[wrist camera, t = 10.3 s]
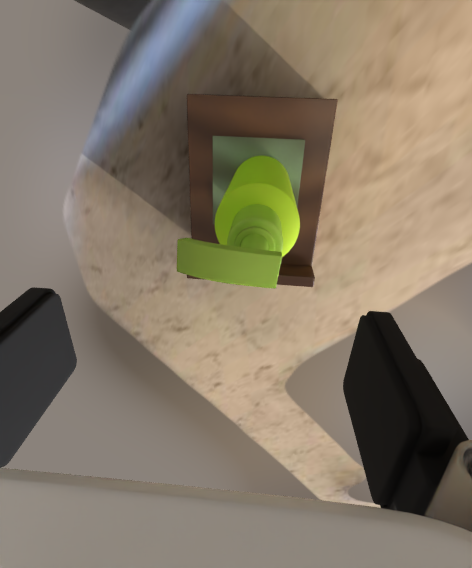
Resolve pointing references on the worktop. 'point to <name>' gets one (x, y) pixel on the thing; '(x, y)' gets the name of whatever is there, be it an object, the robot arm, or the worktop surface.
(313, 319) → the worktop surface
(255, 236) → the soap dispenser
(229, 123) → the wooden picture frame
